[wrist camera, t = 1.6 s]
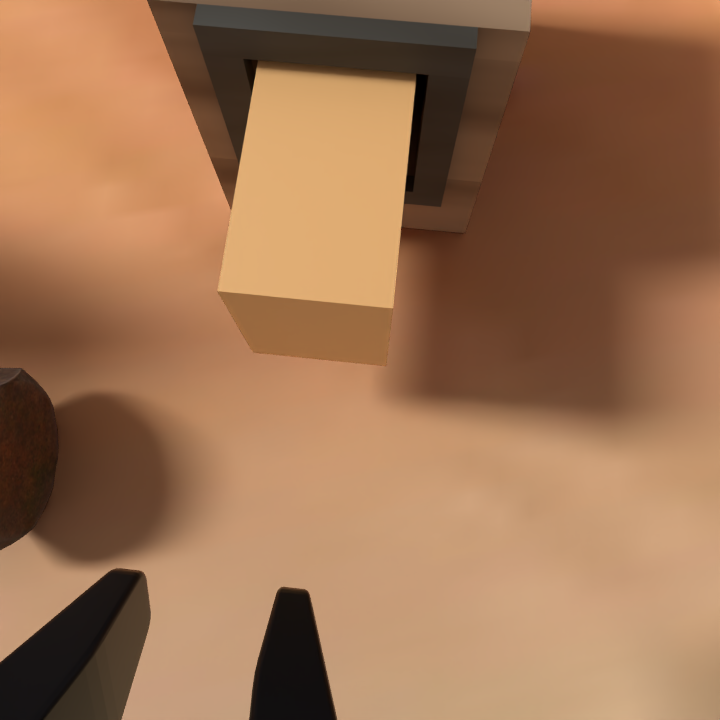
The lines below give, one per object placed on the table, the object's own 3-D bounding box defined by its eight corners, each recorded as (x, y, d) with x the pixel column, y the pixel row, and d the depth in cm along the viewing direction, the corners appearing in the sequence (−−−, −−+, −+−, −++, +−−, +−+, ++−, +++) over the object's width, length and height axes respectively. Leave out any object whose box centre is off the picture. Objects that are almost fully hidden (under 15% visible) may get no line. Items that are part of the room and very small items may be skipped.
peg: (386, 366, 20) (393, 308, 15) (253, 352, 20) (217, 291, 15) (413, 94, 22) (427, -31, 17) (295, 83, 22) (276, -43, 18)
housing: (464, 247, 25) (529, 53, 15) (229, 225, 25) (142, 20, 15) (480, 17, 28) (544, -274, 18) (268, -1, 28) (216, -296, 18)
